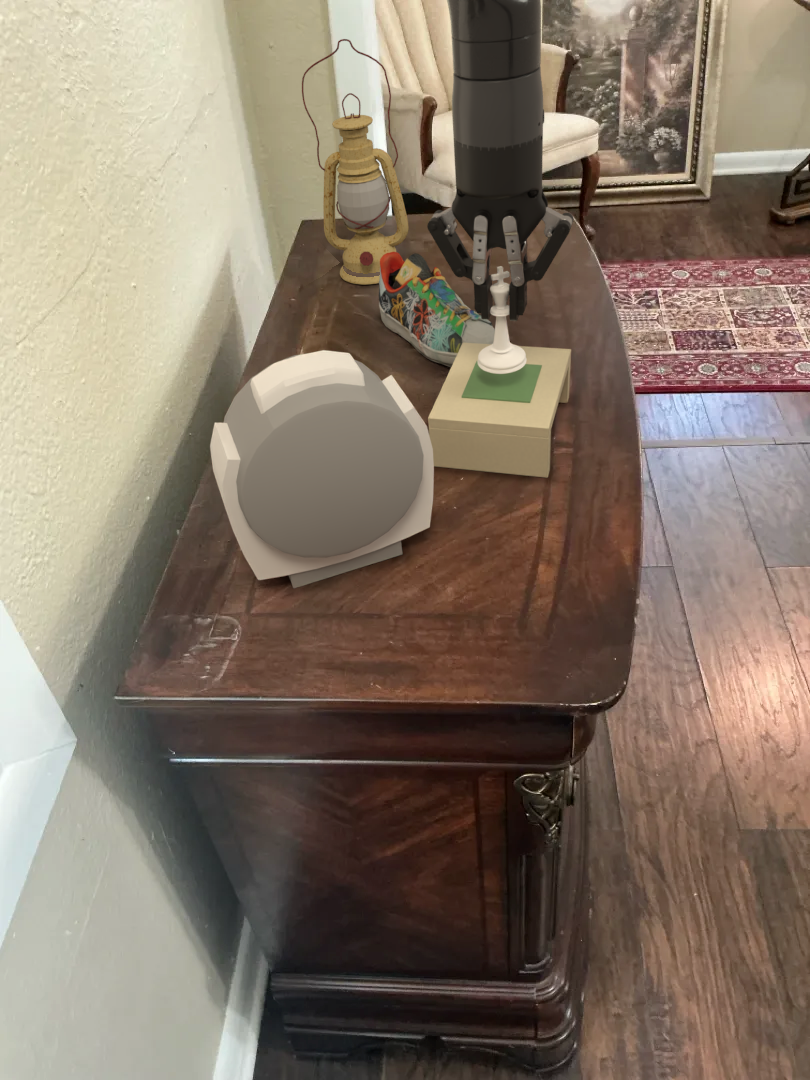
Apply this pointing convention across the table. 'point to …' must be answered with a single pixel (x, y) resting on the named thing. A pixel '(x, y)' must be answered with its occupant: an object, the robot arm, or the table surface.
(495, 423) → the box with green top
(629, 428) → the table surface
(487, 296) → the robot arm
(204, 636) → the table surface
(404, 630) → the table surface
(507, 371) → the chess piece
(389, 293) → the sneaker
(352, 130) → the lantern
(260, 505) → the alarm clock
